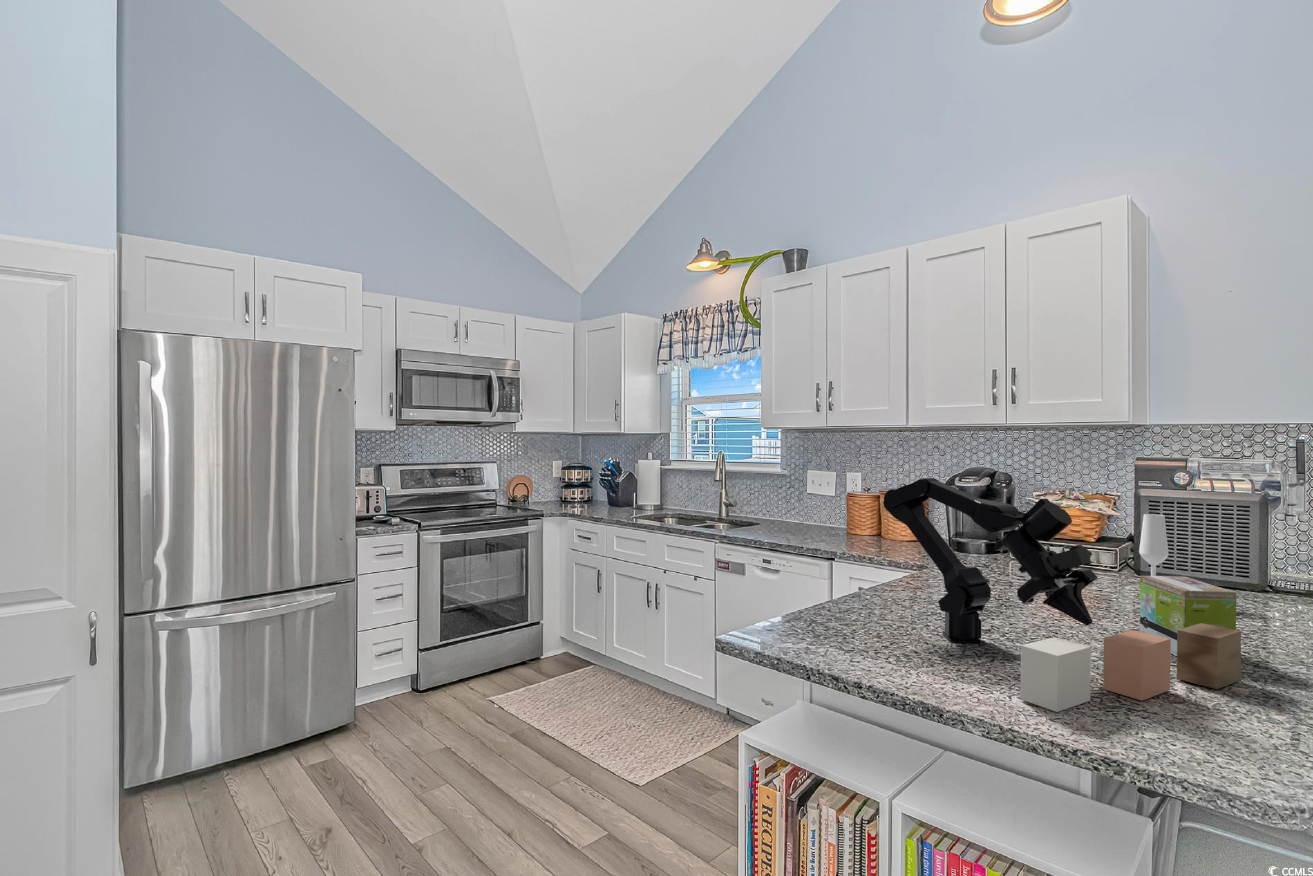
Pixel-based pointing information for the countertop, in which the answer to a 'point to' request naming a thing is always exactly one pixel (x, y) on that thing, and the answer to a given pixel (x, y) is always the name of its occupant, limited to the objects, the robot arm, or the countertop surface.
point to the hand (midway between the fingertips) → (1089, 624)
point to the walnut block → (1209, 655)
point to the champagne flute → (1153, 540)
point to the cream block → (1055, 673)
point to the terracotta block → (1136, 664)
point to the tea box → (1183, 606)
